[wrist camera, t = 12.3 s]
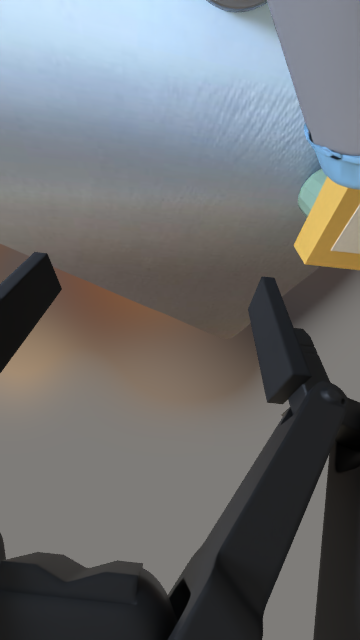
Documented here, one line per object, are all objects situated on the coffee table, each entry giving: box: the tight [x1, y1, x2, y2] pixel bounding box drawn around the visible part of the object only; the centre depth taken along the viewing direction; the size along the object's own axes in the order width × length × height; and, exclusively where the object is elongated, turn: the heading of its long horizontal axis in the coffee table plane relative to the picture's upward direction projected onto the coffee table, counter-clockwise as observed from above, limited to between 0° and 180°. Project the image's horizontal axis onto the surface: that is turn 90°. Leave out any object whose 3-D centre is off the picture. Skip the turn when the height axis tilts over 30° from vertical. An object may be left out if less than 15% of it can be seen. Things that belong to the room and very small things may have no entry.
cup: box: [298, 169, 327, 218], centre depth 29 cm, size 10×7×8 cm
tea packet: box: [294, 176, 360, 270], centre depth 26 cm, size 10×8×5 cm
